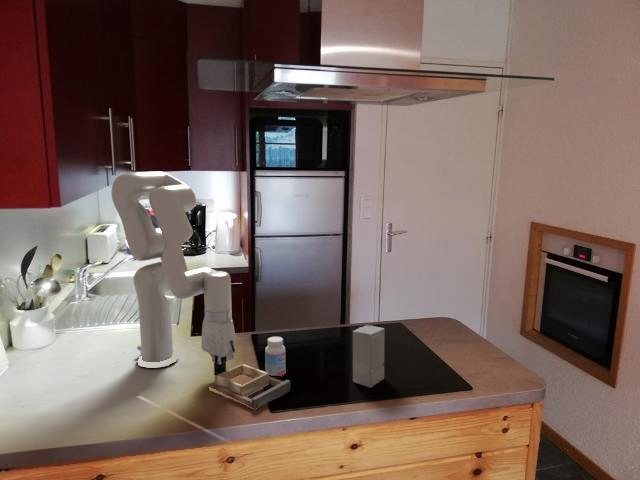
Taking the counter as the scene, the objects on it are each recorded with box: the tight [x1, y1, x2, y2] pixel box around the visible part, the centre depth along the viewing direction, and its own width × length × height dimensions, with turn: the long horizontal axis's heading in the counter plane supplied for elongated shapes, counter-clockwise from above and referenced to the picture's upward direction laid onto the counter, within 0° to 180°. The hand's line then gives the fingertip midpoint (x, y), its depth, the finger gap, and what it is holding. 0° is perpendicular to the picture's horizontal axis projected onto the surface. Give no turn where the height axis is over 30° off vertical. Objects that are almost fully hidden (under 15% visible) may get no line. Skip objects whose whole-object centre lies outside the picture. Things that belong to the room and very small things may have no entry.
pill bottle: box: [264, 336, 287, 377], centre depth 152 cm, size 6×6×11 cm
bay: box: [207, 376, 291, 409], centre depth 142 cm, size 18×14×4 cm
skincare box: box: [352, 324, 386, 389], centre depth 149 cm, size 8×7×16 cm
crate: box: [214, 363, 270, 396], centre depth 143 cm, size 11×11×4 cm
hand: (220, 374), depth 149 cm, fingers closed
